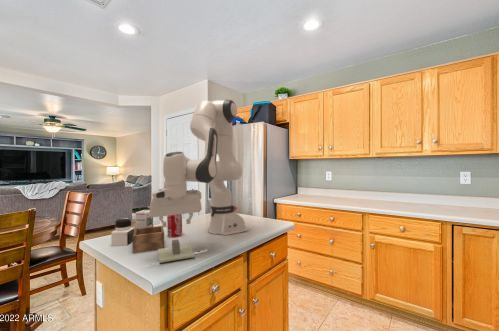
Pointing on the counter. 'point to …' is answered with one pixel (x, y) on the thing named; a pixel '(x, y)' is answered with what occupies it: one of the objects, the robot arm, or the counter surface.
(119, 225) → the medicine bottle
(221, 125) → the robot arm
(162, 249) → the lid
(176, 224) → the soda can
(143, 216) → the syrup box
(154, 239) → the crate
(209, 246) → the counter surface
